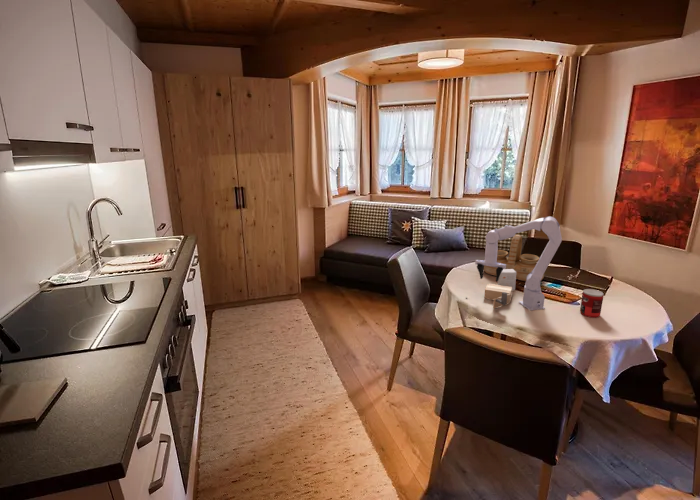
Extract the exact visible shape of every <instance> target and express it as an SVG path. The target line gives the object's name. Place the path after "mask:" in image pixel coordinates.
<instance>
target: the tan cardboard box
mask: <svg viewBox="0 0 700 500" xmlns="http://www.w3.org/2000/svg"><path fill="white" fill-rule="evenodd" d="M511 298H512V296H511V294H507V293H506V292H502V297H499V298H496V299H494V300H493V305H492V306H493V307H492V309H497V308H500V307H502V306H507V305H508V304H511Z"/></svg>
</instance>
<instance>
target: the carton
mask: <svg viewBox="0 0 700 500" xmlns="http://www.w3.org/2000/svg"><path fill="white" fill-rule="evenodd" d="M502 292H506V293H507V294H511V297H512V294H513V290H512V287H508V286H502V285H497V284H493V283H487V284H486V287H485V289H484V298H483V299H485V298H486V300H491V301H492V300H493V301H494V299H496V298H499V297H502Z"/></svg>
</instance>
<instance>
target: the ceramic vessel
mask: <svg viewBox="0 0 700 500" xmlns="http://www.w3.org/2000/svg"><path fill="white" fill-rule="evenodd" d="M522 248H523V237H522V235H521V234H515V236H514V237H511V240H510V246H509V252H508V251H507V250H503V249H498V251H497V262H498V263H502V264H506V268H505V269H514V270H515V271H516V280H519V281H521V282H526V280H527V275H528V274H529V273H531V272H532V270H533V269H534V268H535V266H536V264H537V262H538V260H539V258H540V256H538V255H535V254H531V253H523V254H522ZM497 268H498V267H491V266H485V265H484V270H483V272H484V273H486V274H488V275H490V276H491V275H492V276H494V277H496V269H497ZM544 278H545V273H544V274H543V277H542V279H541V281H543V279H544Z"/></svg>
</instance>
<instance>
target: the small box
mask: <svg viewBox="0 0 700 500" xmlns="http://www.w3.org/2000/svg"><path fill="white" fill-rule="evenodd" d="M516 280H517V279H516V271H515V270H514V269H503V270H502V272H501V274H500V276H499V279H498V281H497V282H496V283H497V284H496V285H502V286H508V287H512V291H515V290H516V283H517V282H516Z"/></svg>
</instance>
